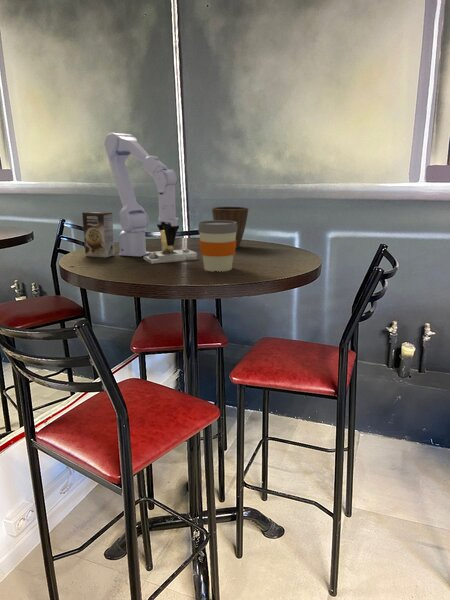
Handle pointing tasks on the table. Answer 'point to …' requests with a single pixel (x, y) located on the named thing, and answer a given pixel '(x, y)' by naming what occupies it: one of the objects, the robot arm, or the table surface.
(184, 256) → the square-hole plate
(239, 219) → the plant pot
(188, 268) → the table surface
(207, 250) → the reusable coffee cup
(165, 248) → the brass pin
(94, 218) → the coffee box
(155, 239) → the table surface
